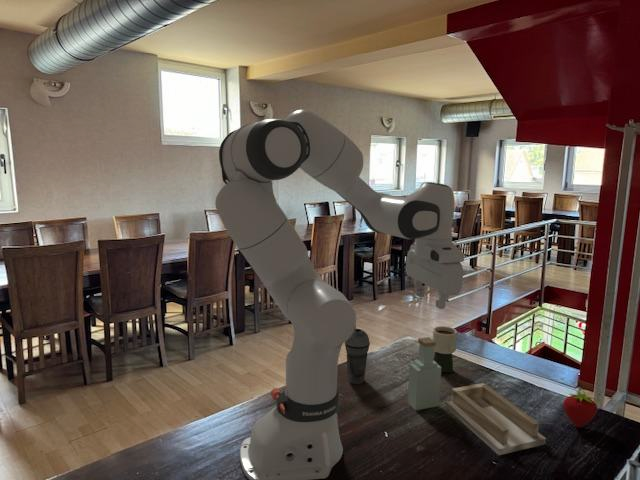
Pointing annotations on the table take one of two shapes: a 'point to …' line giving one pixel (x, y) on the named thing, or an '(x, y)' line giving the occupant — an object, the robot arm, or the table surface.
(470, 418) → the u rest
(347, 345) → the beverage cup
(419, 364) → the pale green flat bottle
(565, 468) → the table surface
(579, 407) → the strawberry
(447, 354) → the character mug
